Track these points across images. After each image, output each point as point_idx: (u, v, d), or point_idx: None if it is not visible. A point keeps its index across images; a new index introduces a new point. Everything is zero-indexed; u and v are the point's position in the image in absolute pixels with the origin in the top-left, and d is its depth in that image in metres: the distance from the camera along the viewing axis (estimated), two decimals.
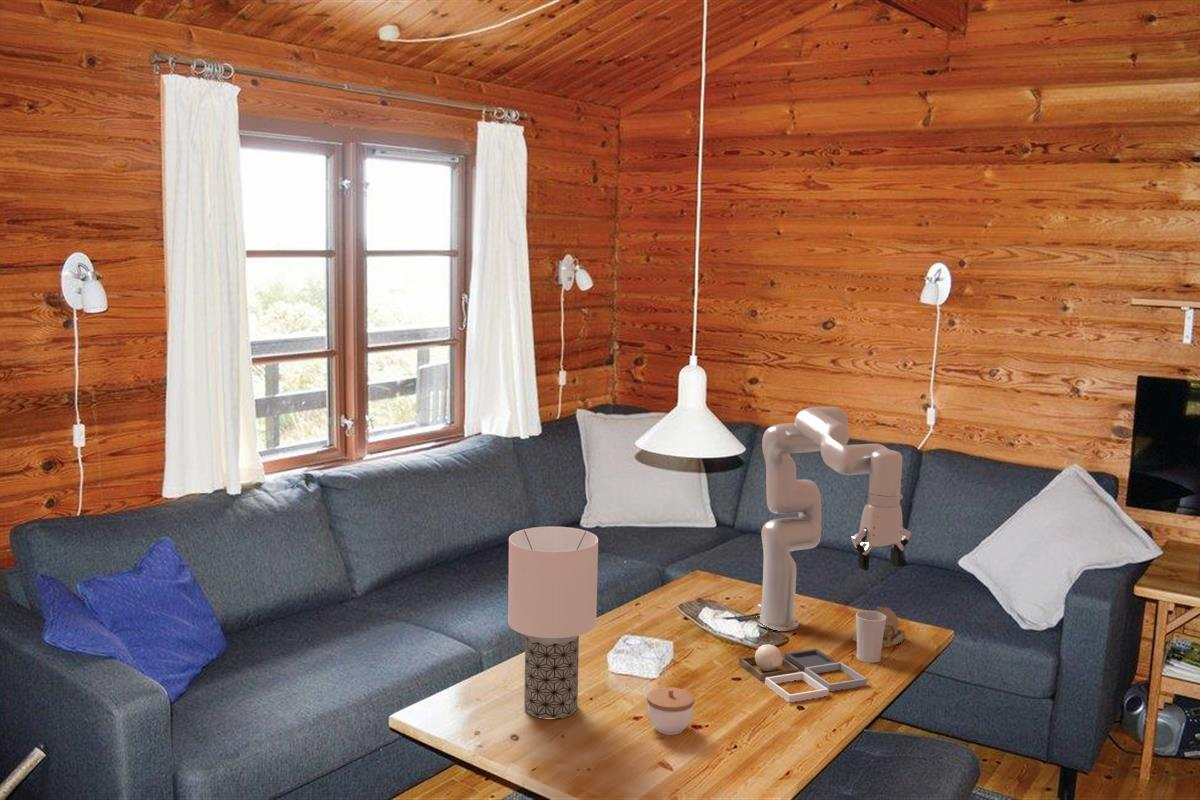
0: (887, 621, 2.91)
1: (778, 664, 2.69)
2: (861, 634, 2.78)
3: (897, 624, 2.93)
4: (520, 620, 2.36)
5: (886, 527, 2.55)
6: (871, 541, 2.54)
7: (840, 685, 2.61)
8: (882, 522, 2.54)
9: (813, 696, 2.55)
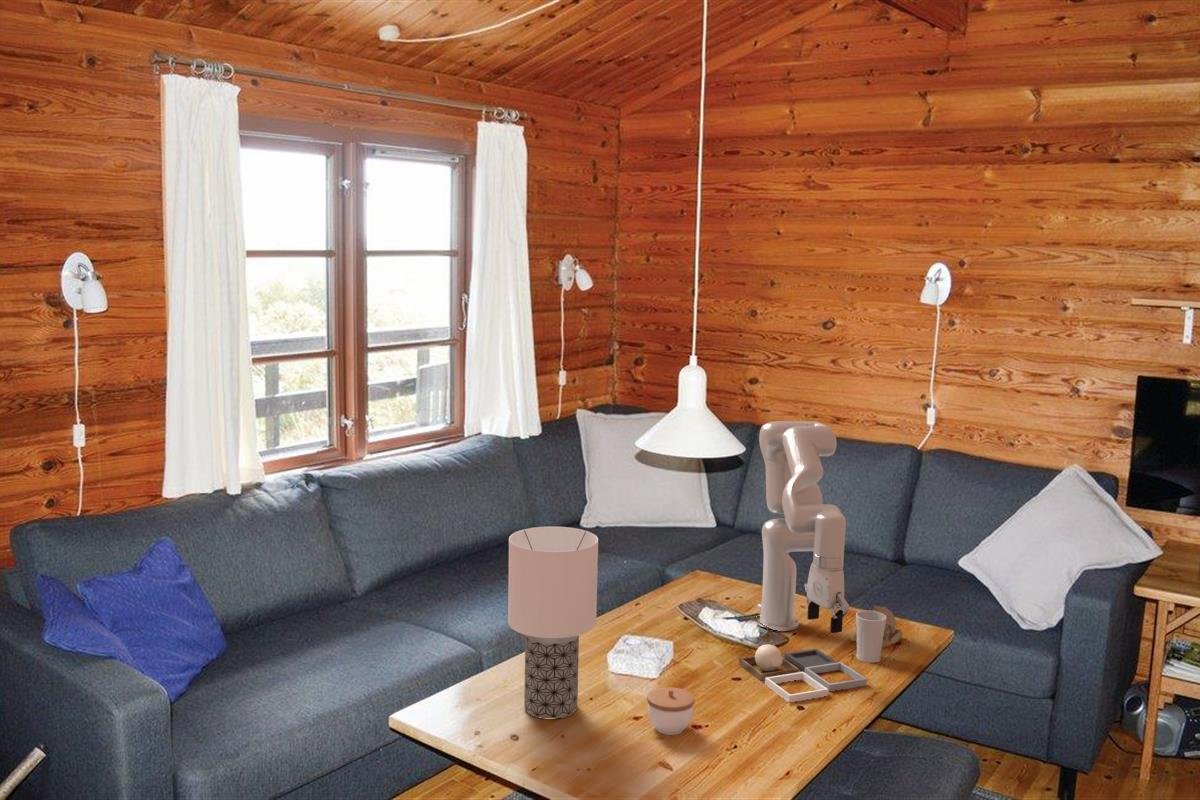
0: None
1: (778, 664, 2.69)
2: (861, 634, 2.78)
3: (894, 623, 2.93)
4: (520, 620, 2.36)
5: None
6: None
7: (840, 685, 2.61)
8: None
9: (813, 696, 2.55)
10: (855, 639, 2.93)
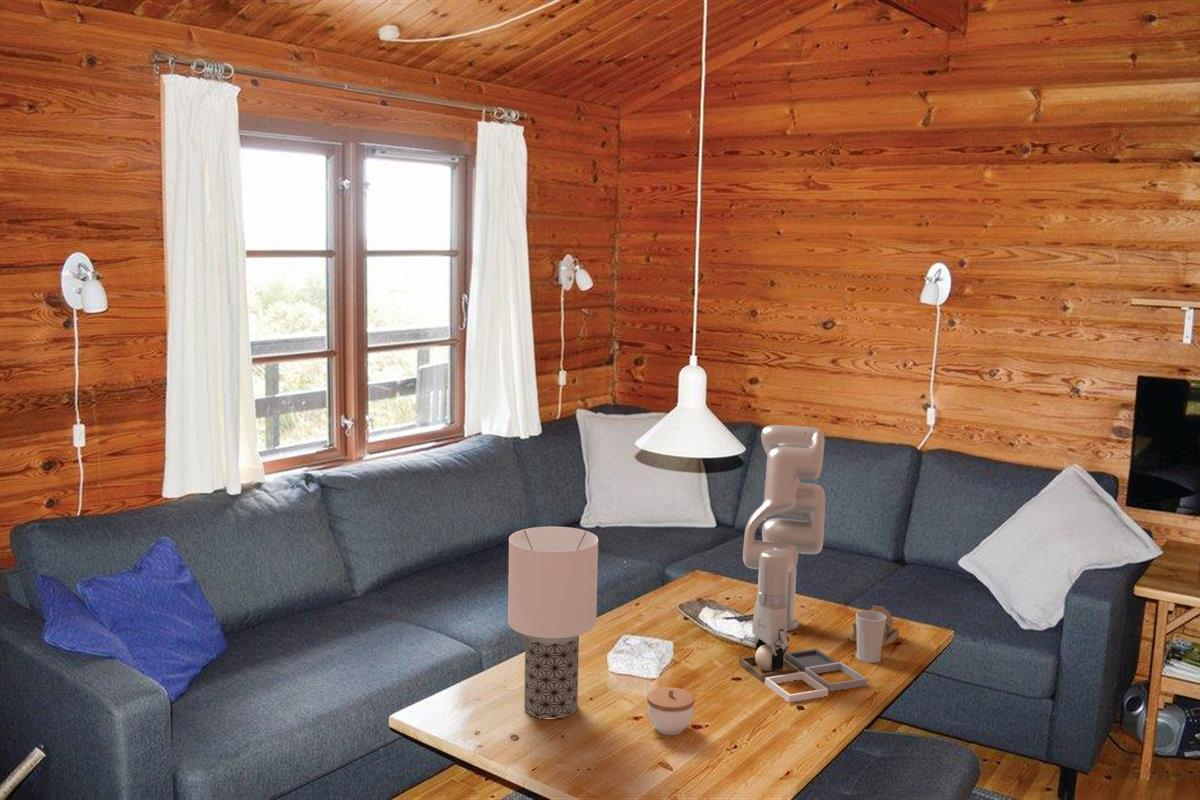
0: None
1: None
2: (861, 634, 2.78)
3: (892, 622, 2.94)
4: (520, 620, 2.36)
5: None
6: None
7: (840, 685, 2.61)
8: None
9: (813, 696, 2.55)
10: (853, 639, 2.93)
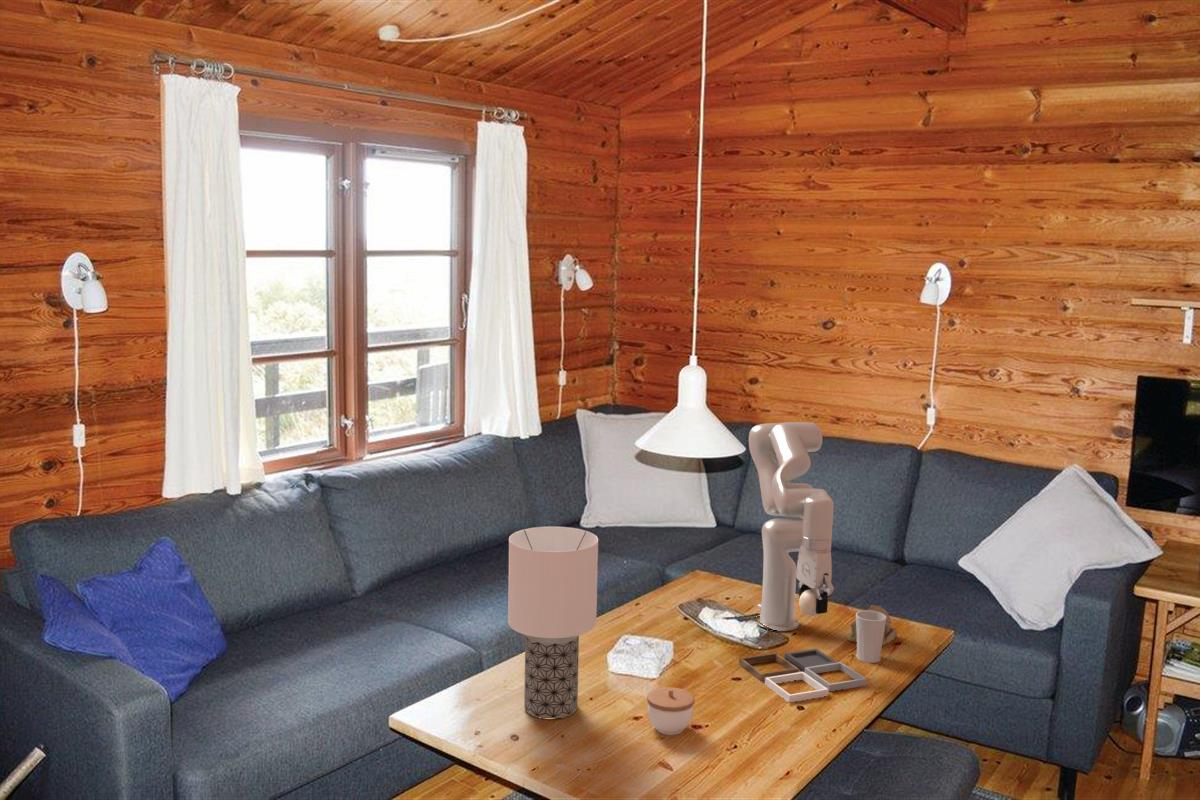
0: None
1: None
2: (861, 634, 2.78)
3: (889, 622, 2.94)
4: (520, 620, 2.36)
5: None
6: None
7: (840, 685, 2.61)
8: None
9: (813, 696, 2.55)
10: (851, 639, 2.93)
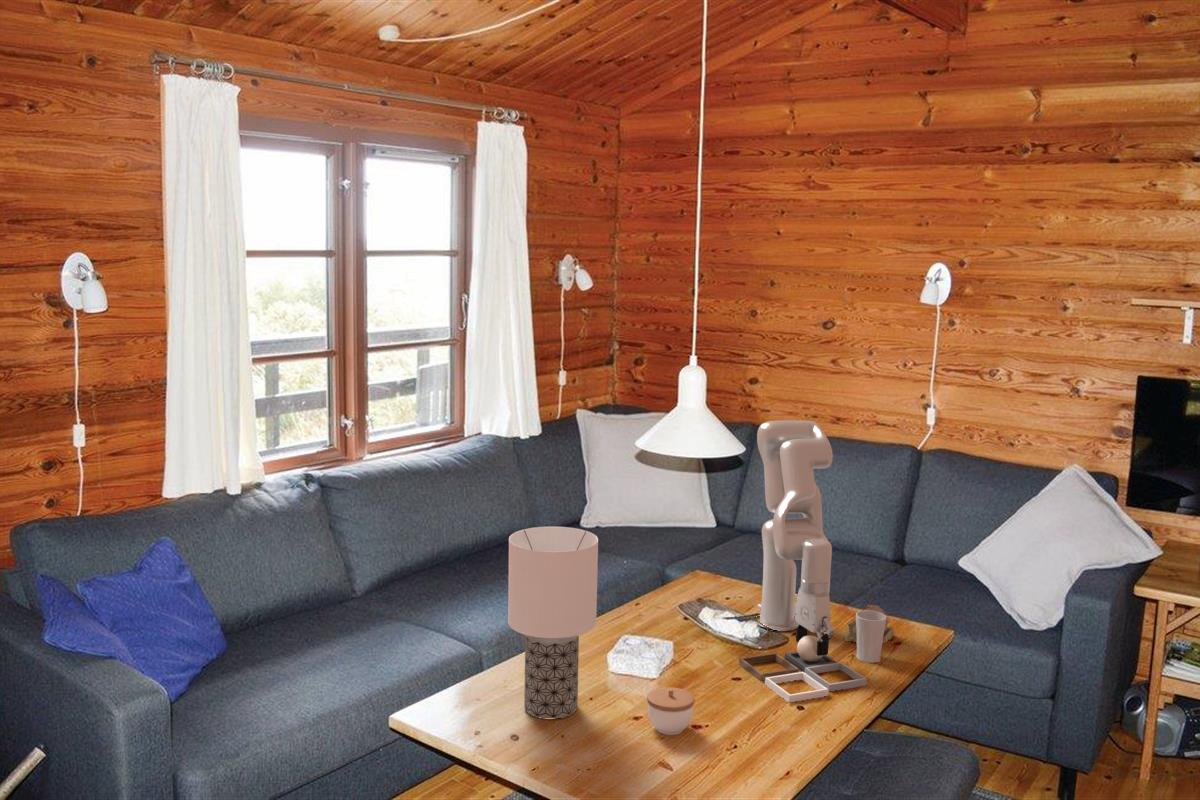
0: None
1: None
2: (861, 634, 2.78)
3: (887, 621, 2.95)
4: (520, 620, 2.36)
5: None
6: None
7: (840, 685, 2.61)
8: None
9: (813, 696, 2.55)
10: (849, 639, 2.93)
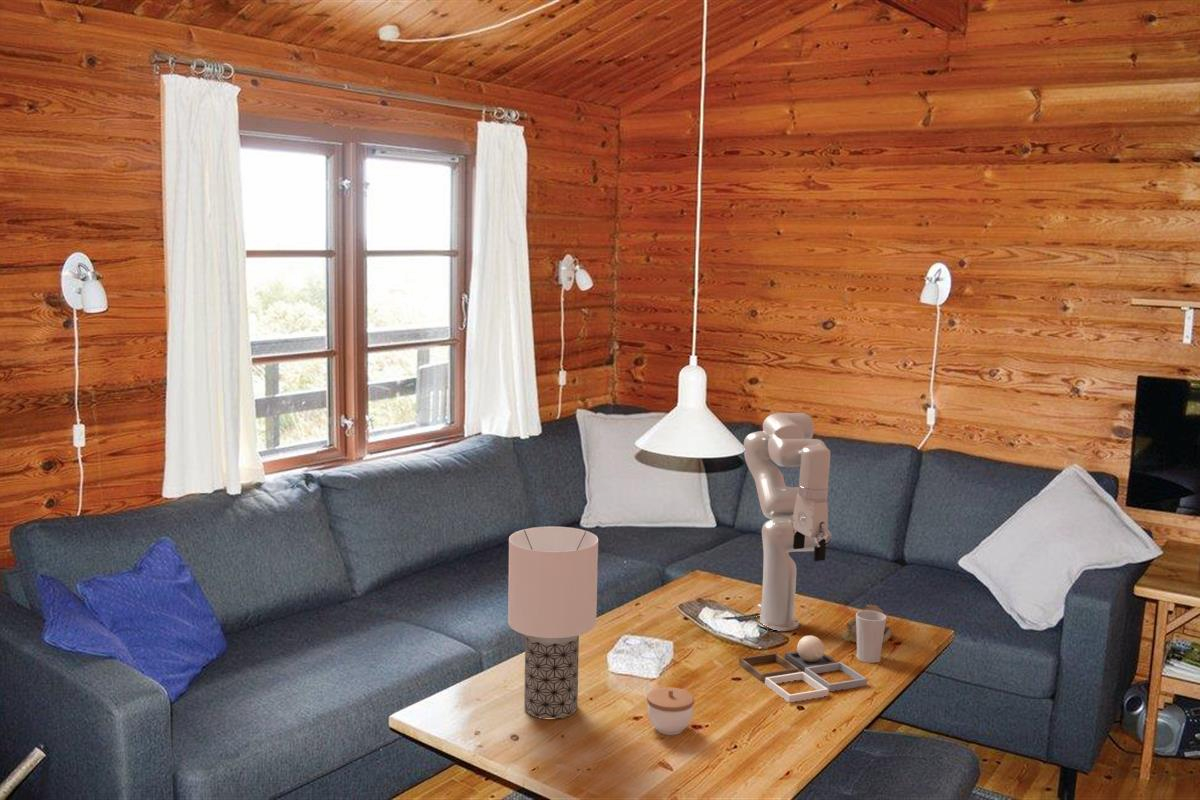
0: None
1: (820, 655, 2.74)
2: (861, 634, 2.78)
3: None
4: (520, 620, 2.36)
5: None
6: None
7: (840, 685, 2.61)
8: None
9: (813, 696, 2.55)
10: (849, 638, 2.93)
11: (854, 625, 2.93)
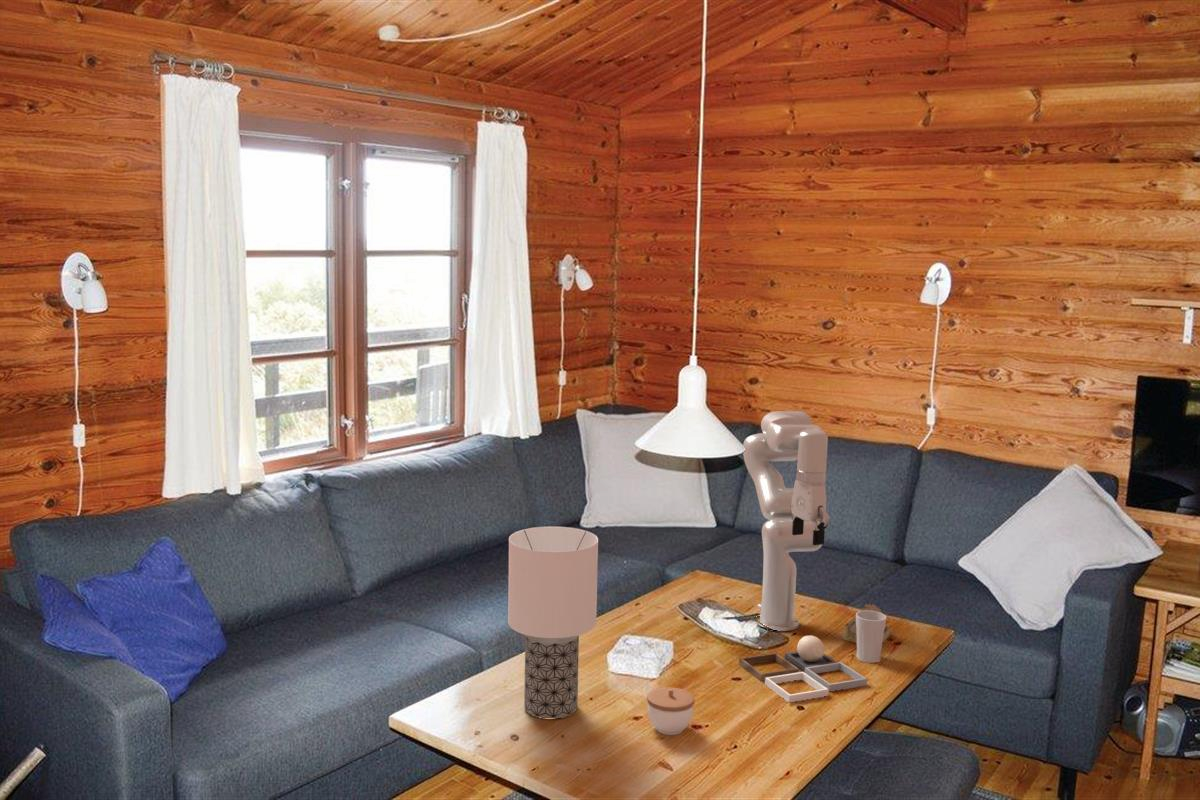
0: None
1: (820, 655, 2.74)
2: (861, 634, 2.78)
3: None
4: (520, 620, 2.36)
5: None
6: None
7: (840, 685, 2.61)
8: None
9: (813, 696, 2.55)
10: (848, 638, 2.93)
11: (853, 625, 2.93)
